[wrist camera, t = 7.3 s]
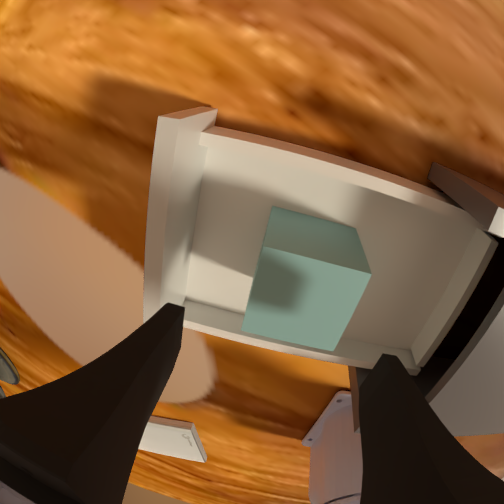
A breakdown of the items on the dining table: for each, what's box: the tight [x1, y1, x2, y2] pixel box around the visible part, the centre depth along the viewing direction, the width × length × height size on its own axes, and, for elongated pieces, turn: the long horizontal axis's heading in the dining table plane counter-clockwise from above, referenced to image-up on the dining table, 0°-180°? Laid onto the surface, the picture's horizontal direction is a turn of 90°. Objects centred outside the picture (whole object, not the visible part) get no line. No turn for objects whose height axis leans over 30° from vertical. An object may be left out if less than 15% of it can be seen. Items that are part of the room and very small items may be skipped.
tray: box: [143, 106, 501, 376], centre depth 16 cm, size 13×17×6 cm
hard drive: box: [138, 416, 207, 462], centre depth 32 cm, size 2×8×12 cm
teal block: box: [241, 206, 372, 351], centre depth 16 cm, size 4×4×4 cm
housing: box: [348, 162, 504, 436], centre depth 15 cm, size 14×14×7 cm
